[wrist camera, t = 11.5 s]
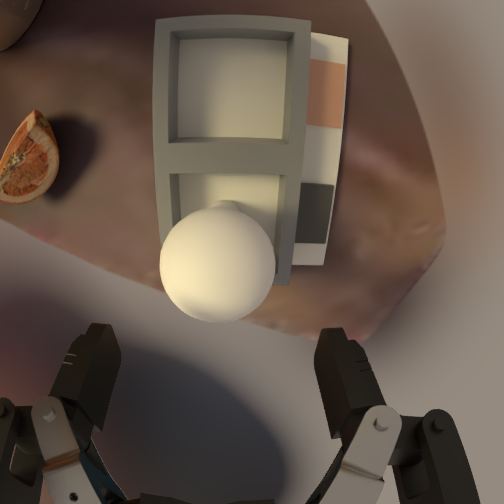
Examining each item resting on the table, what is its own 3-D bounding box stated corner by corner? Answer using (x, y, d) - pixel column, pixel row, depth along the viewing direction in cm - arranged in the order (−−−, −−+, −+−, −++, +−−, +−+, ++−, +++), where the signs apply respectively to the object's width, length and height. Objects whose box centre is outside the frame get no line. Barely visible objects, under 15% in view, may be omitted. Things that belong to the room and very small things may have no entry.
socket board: (174, 258, 25) (165, 283, 22) (169, 31, 16) (155, 19, 13) (321, 260, 26) (332, 284, 23) (344, 40, 17) (363, 31, 13)
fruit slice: (51, 92, 17) (16, 96, 13) (91, 146, 20) (59, 160, 16) (6, 156, 19) (-27, 171, 15) (40, 206, 22) (11, 228, 18)
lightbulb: (251, 163, 21) (261, 219, 11) (272, 235, 24) (294, 331, 14) (173, 188, 21) (123, 260, 12) (201, 255, 24) (180, 356, 15)
